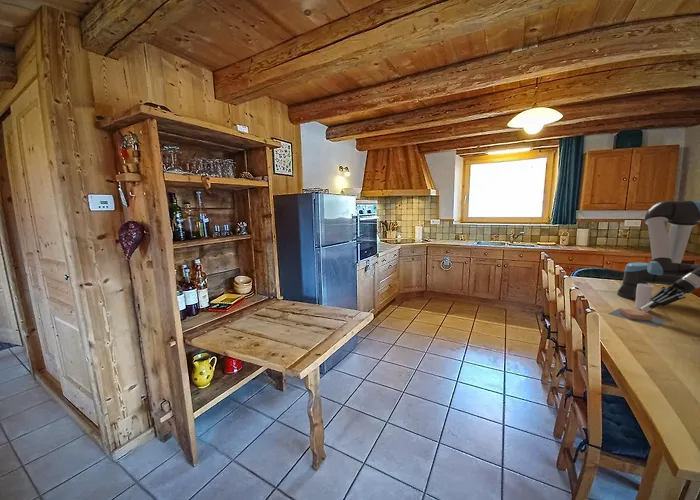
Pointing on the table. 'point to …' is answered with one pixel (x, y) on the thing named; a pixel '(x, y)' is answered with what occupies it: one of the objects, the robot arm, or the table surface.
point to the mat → (655, 321)
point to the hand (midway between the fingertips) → (642, 310)
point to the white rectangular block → (643, 295)
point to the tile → (636, 314)
